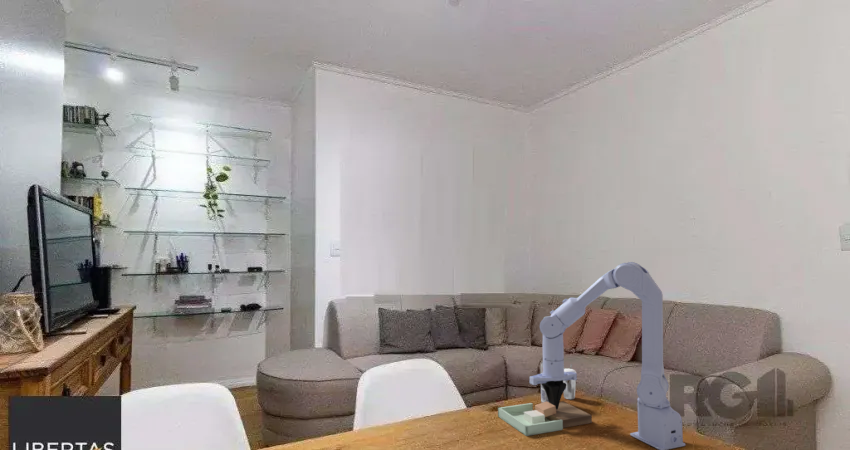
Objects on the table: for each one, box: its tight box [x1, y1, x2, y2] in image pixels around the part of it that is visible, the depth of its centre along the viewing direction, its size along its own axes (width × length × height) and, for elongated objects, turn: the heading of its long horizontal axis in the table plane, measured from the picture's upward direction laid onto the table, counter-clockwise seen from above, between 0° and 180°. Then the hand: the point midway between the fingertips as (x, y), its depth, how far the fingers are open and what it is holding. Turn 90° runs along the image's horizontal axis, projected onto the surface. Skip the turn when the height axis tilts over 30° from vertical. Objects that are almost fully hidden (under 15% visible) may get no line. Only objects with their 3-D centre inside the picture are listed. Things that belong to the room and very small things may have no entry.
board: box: [545, 400, 593, 429], centre depth 123 cm, size 12×10×2 cm
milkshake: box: [563, 363, 577, 401], centre depth 140 cm, size 4×5×10 cm
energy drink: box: [540, 361, 549, 403], centre depth 135 cm, size 5×5×12 cm
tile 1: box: [524, 409, 545, 424], centre depth 119 cm, size 4×4×2 cm
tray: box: [497, 402, 564, 437], centre depth 119 cm, size 14×11×2 cm
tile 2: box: [534, 401, 556, 417], centre depth 121 cm, size 4×4×2 cm
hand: (553, 408), depth 122 cm, fingers closed
